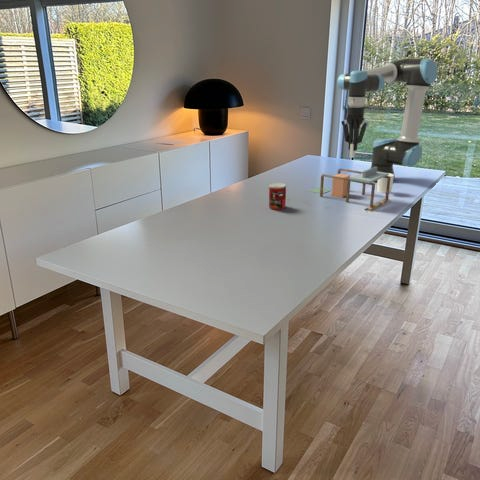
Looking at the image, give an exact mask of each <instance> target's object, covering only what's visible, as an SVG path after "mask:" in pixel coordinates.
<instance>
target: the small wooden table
mask: <svg viewBox="0 0 480 480" xmlns="http://www.w3.org/2000/svg"><path fill="white" fill-rule="evenodd" d="M342 172H346V173H353V174H361V173H363V171H358V170H353V169H345V168H338V170H337V174H342ZM325 178H331V179H333V178H335V179H341V180H346V181H347V193H346V196H345V197H343V198H342V197H337V196H332V194H329V195H328V196H330V197H335V198H339V199H345V202H346V203H349V202H350V196H351V194H350V189H351V182H352V183H356V184H362V189H361V190H362V191H361V196H365V195H366V186H367V185H370V186H371V192H370V202H369V203H370V204H369V206H368V207H366V208H364V209H363V210H364V211H367V210H368V211H369V212H371V211H374V210H375V209H377V208H379V207H381V206H382V205H385V204H387V203H388V202H390V198H389V195H390V193H389V187H390V179H391V177H390V176H386V177H383V178H388V180H387V189H386V193H385V198H384V199H382V200H381V201H378V202H376V203H374V201H375V200H374V198H375V192H376V190H375V188H376V182H372V183H366V182H360V181H355V180H350V179H348V178H342V177H337V176H334V175H330V174H326V173H322V174H321V175H320V187H319V188H320V194H319V197H320V198H323V196H324V194H323V189H324V181H325Z"/></svg>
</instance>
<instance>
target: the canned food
mask: <svg viewBox="0 0 480 480" xmlns="http://www.w3.org/2000/svg"><path fill="white" fill-rule="evenodd" d="M268 186H269V187H268V207H269V209H271V210H273V211H274V210H275V211H280V210H284V209H285V208H286V197H287V193H286V192H287V185H286V184H285V183H282V182H272V183H270V184H269V185H268Z"/></svg>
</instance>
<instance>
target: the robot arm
mask: <svg viewBox="0 0 480 480" xmlns="http://www.w3.org/2000/svg"><path fill="white" fill-rule="evenodd" d="M437 77H438V66H437V63H436V62H435V61H434V59H431V58H430V59H429V58H404V59H403V58H402V59H398V60H394V61H391V62H387V63H385V64H384V65H382V66H378V67H375V68H374V67H373V68H370V69H365V70H352V71H351V72H350V73H347V72H346V73H342V74H340V75H339V77H338V78H337V80H336V81H337V87H338V89H340V90H341V91H342V90H343V91H348V97H347V98H348V99H347V100H348V101H347V106H348V107H347V113H346V114H347V115H346V118H345V119H344V120H342V121H341V125H342V128H343V135H344V142H347V143H348V149H347V150H349V155H348V156H349V157H348V158H351V159H352V158H355V157H356V151H357V150H358V145H359V144H360V143H362V142H363V138H364V135H365V132H366V129H367V127H368V126H369V122H367V121H365V117H364V115H365V107H364V106H365V104H366V95H367V93H372V92H379V91H380V90H382V89H384V85H385V82H386V83H391V82H392V83H393V82H397V83H406V84H405V87H406V88H407V95H406V102H405V107H404V112H403V117H402V124H401V130H400V136H399V137H397V138H395V137H394V138H393V137H392V138H379V139H375V140H374V141H373V145H372V155H371V156H372V157H371V166H370V168H373V167H377V171H378V172H384V173H391V174H394V179H393V182H395V179H396V177H395V171H394V165H399V166H402V167H408V168H409V167H414V166H416V165H417V164H418V163H419V161H420V160H421V157H422V154H423V148H422V146H421V145H420V141H419V139H418V134H419V129H420V125H421V119H422V112H423V108H424V103H425V97H426V92H427V90H429V89H430V88H431V87H430V86H431V84H433V83H435V82H436V80H437ZM377 182H378V180H376V181H374V182H373V183H377Z"/></svg>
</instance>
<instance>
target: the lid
mask: <svg viewBox="0 0 480 480" xmlns="http://www.w3.org/2000/svg"><path fill="white" fill-rule="evenodd" d="M362 172H363V173H361V174H359V173H357V174H356V175H354V176H350V180H355V181H360V182H366V183H375V182H374V181H376V180H379V179H381V178H383V177H386V176H388V175H389V173H384V172H378V171H377V167H373V168H371V167H370V168H368V169H366V170H363V171H362Z"/></svg>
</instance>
